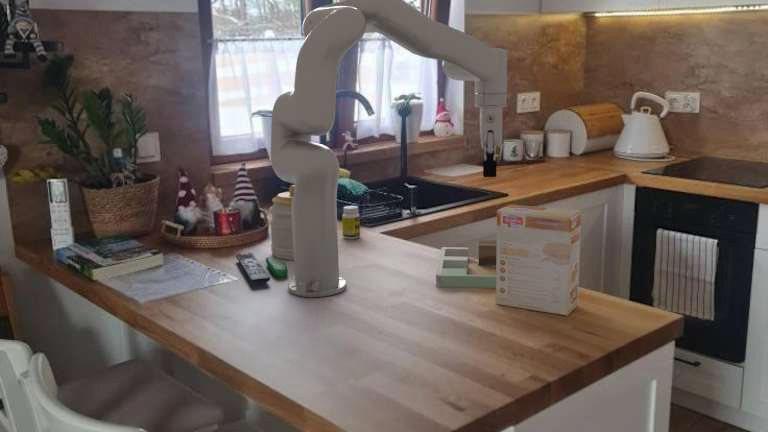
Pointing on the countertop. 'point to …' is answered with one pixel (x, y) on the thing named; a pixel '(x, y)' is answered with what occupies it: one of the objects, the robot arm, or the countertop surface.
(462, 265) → the trap box
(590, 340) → the countertop surface
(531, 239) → the coffeecake box
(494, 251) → the block
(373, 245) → the countertop surface
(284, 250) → the jar
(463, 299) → the countertop surface
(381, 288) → the countertop surface
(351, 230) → the supplement bottle
